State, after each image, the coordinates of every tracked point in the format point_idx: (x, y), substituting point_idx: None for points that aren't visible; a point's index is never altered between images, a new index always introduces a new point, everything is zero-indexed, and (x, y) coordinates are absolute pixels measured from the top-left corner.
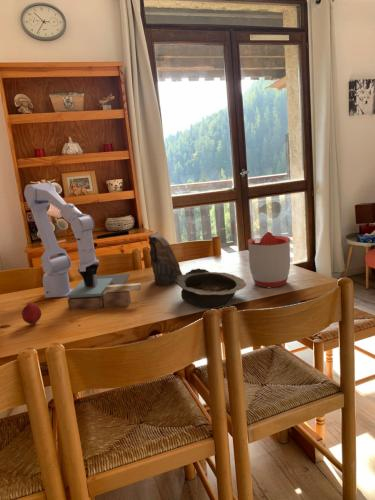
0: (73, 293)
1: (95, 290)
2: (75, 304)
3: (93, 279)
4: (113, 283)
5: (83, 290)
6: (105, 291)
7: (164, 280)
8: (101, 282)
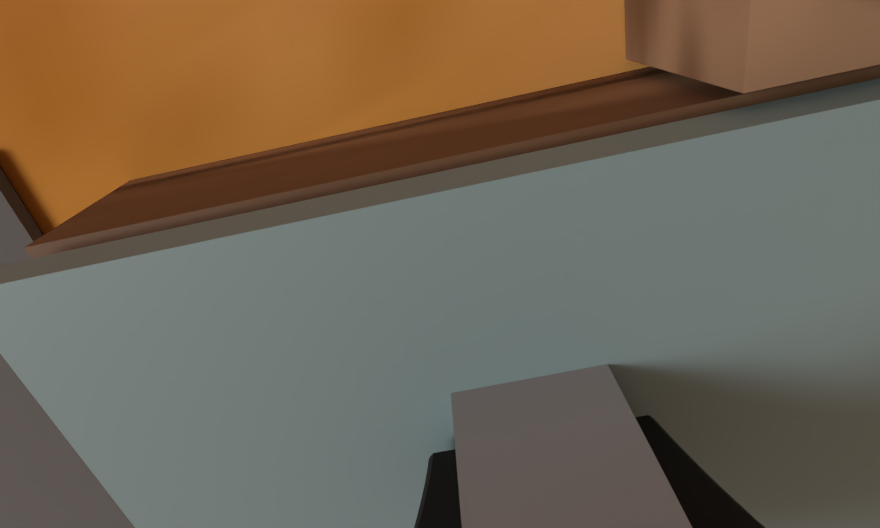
0: (869, 519)
1: (832, 270)
2: None
3: (677, 518)
4: (65, 231)
5: (761, 461)
6: (831, 52)
7: None
8: (321, 383)
